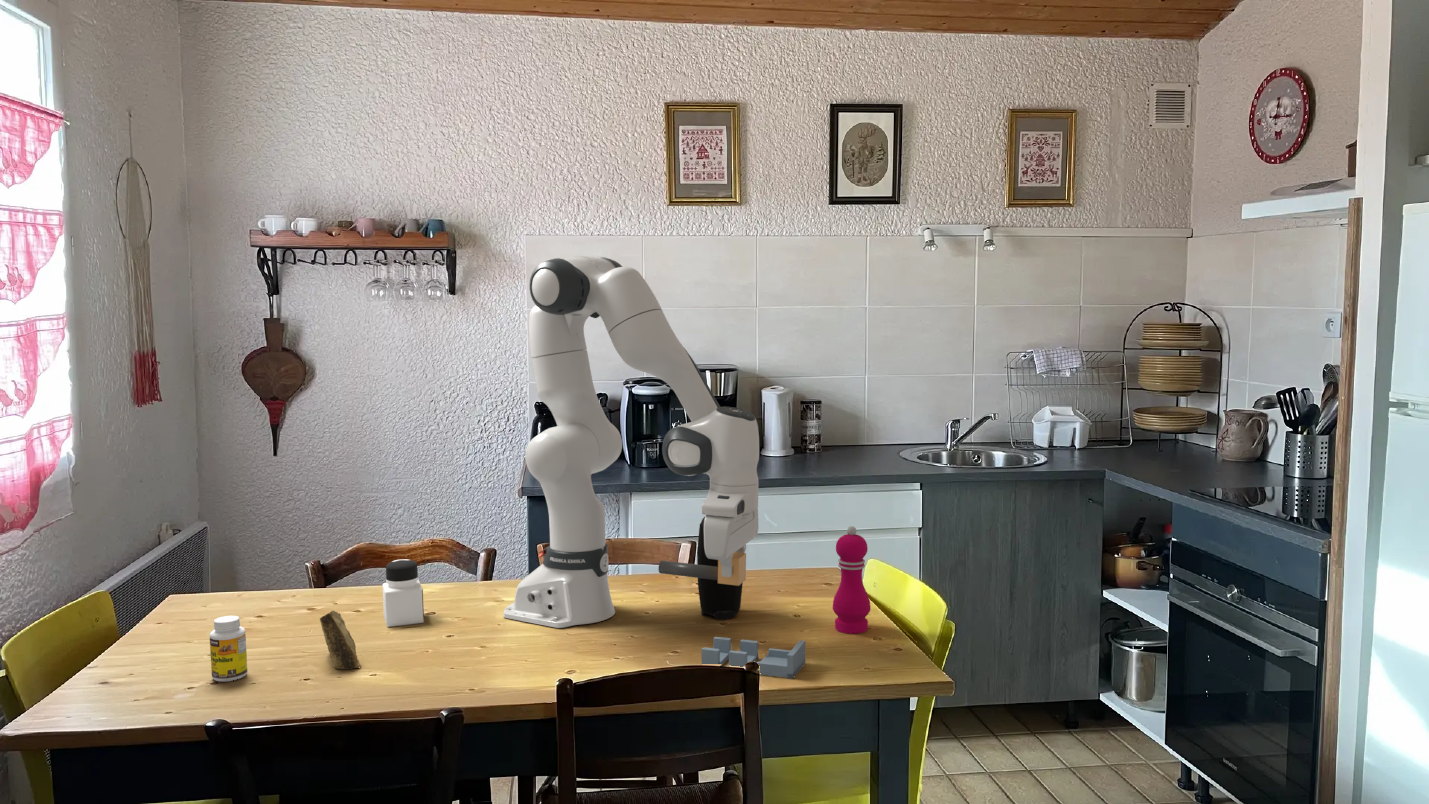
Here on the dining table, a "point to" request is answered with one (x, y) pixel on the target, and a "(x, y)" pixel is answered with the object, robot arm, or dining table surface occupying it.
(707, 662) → the clip
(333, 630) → the rock
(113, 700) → the dining table surface
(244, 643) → the supplement bottle
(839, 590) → the pepper mill
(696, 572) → the grey and tan hammer
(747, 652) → the clip
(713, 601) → the portable speaker
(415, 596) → the medicine bottle
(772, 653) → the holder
